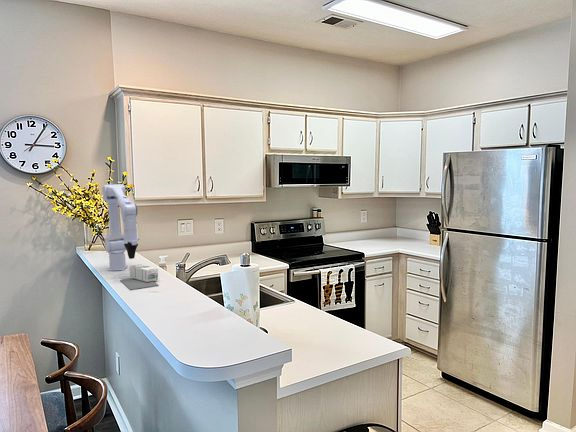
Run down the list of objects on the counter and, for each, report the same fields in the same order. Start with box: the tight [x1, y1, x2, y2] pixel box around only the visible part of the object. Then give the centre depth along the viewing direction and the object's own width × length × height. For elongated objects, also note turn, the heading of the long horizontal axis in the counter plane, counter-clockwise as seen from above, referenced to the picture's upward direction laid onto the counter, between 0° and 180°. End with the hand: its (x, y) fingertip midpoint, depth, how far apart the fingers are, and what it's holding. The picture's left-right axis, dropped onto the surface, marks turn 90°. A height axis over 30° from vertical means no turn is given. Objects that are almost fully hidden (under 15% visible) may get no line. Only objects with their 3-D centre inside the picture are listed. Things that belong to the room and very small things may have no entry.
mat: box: [119, 277, 160, 291], centre depth 187 cm, size 20×12×1 cm, turn 33°
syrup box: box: [129, 264, 159, 282], centre depth 192 cm, size 6×6×14 cm
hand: (131, 258), depth 195 cm, fingers closed
